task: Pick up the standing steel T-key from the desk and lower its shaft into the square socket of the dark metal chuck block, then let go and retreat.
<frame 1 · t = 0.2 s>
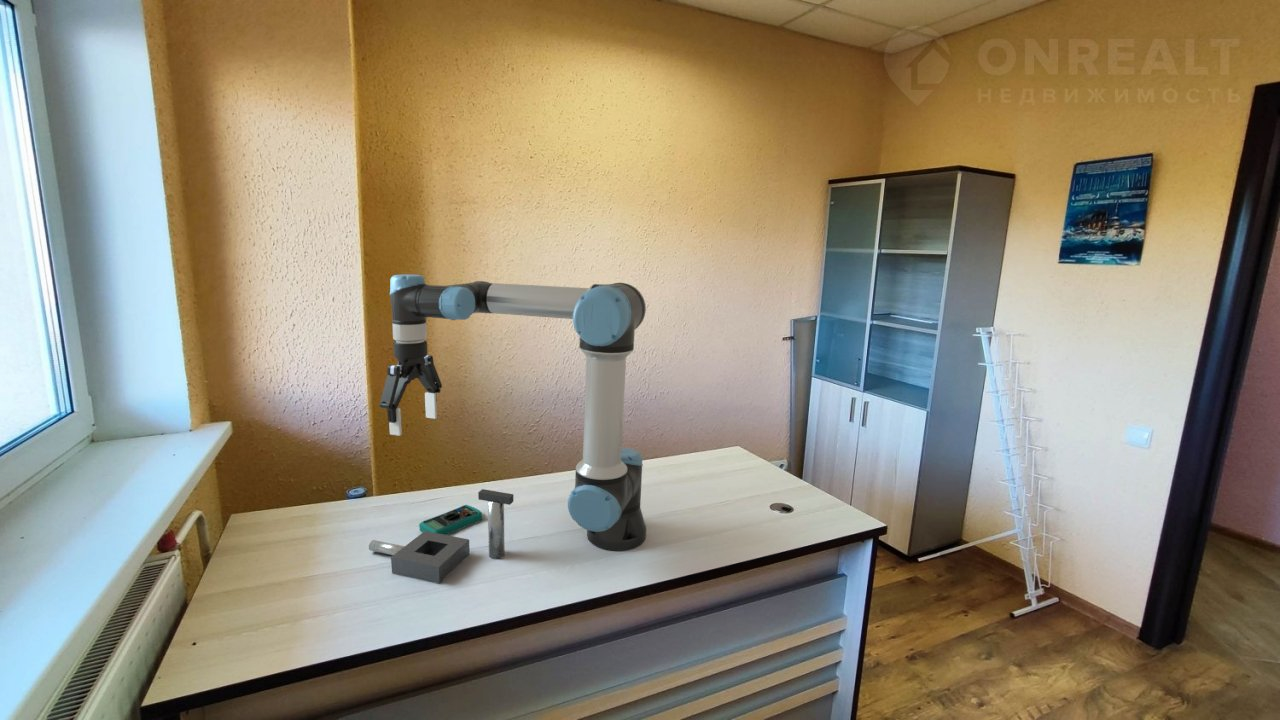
hand: (414, 425, 140), 28 cm above the table, fingers open, 13 cm apart
digital multimeter: (451, 527, 148), on the table
t key: (496, 555, 135), on the table
chuck block: (432, 563, 130), on the table
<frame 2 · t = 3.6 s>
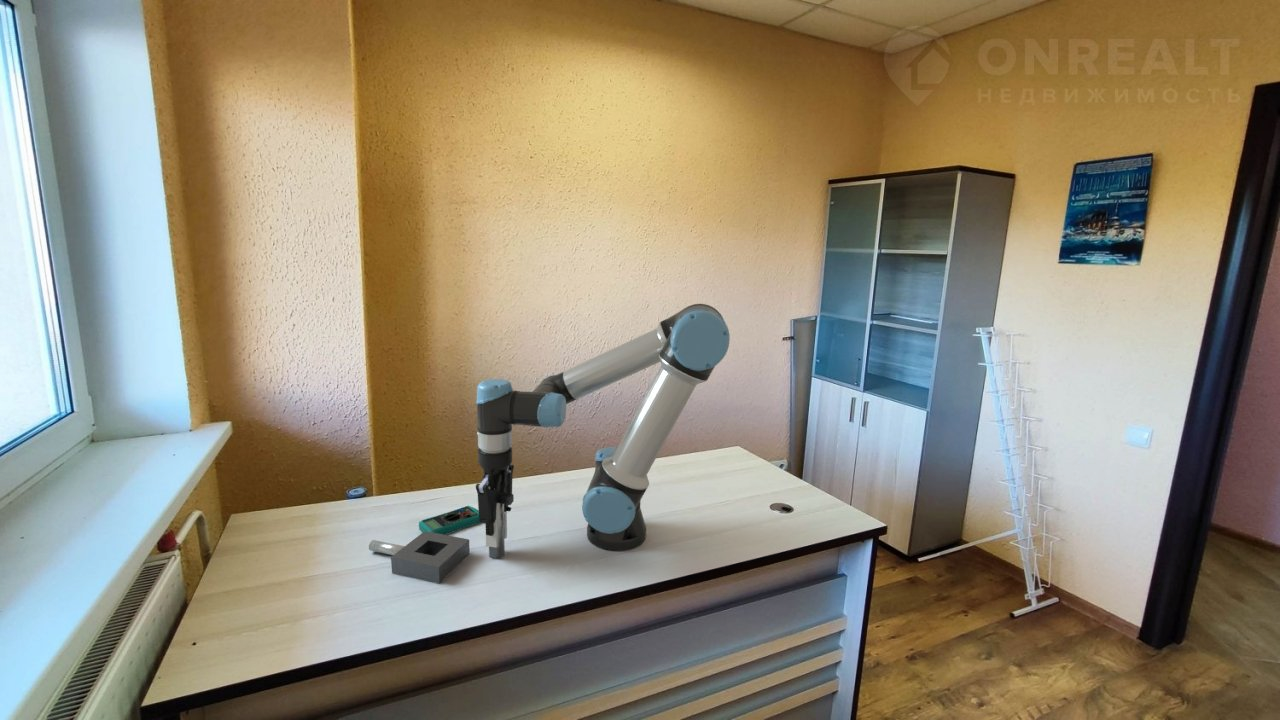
hand: (496, 541, 134), 4 cm above the table, fingers closed on t key, 4 cm apart
t key: (496, 555, 135), on the table, touching gripper
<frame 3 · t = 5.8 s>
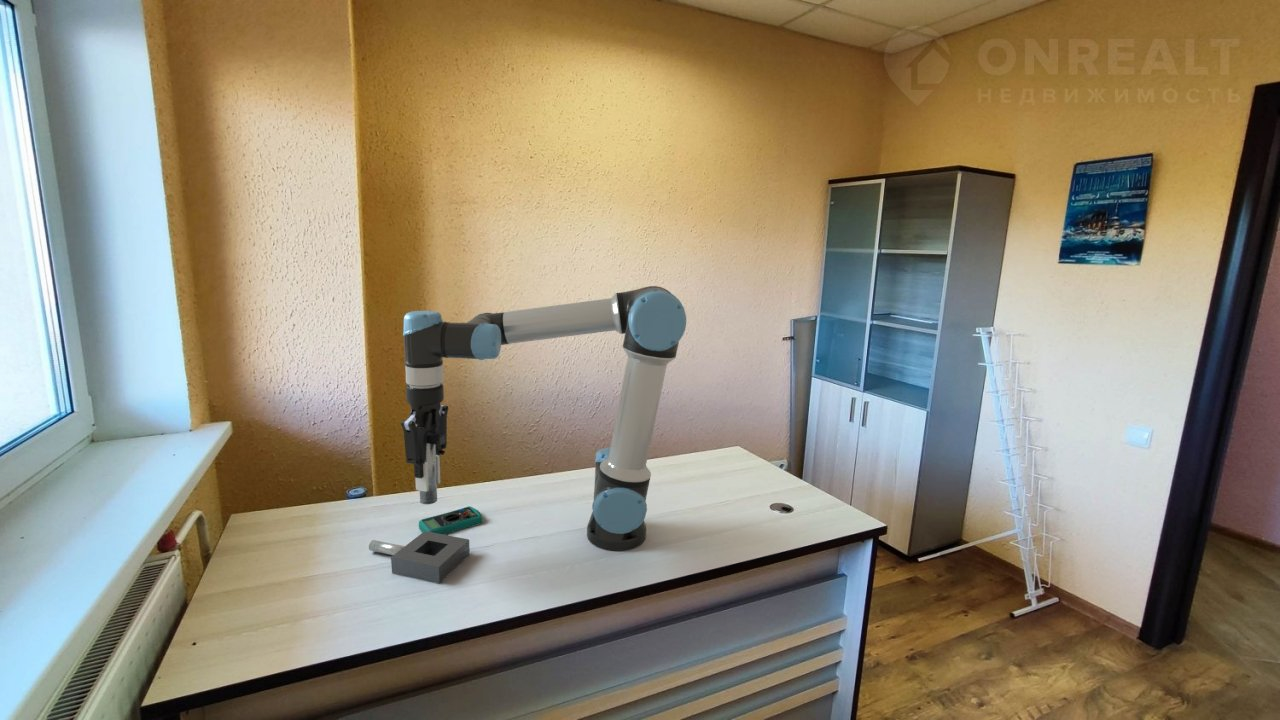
hand: (428, 485, 126), 19 cm above the table, fingers closed on t key, 4 cm apart
t key: (428, 500, 127), point 16 cm above the table, touching gripper
everything else where it was.
when the fingers open (5 cm above the table, at t = 7.9 s): t key drops 2 cm, resting in chuck block.
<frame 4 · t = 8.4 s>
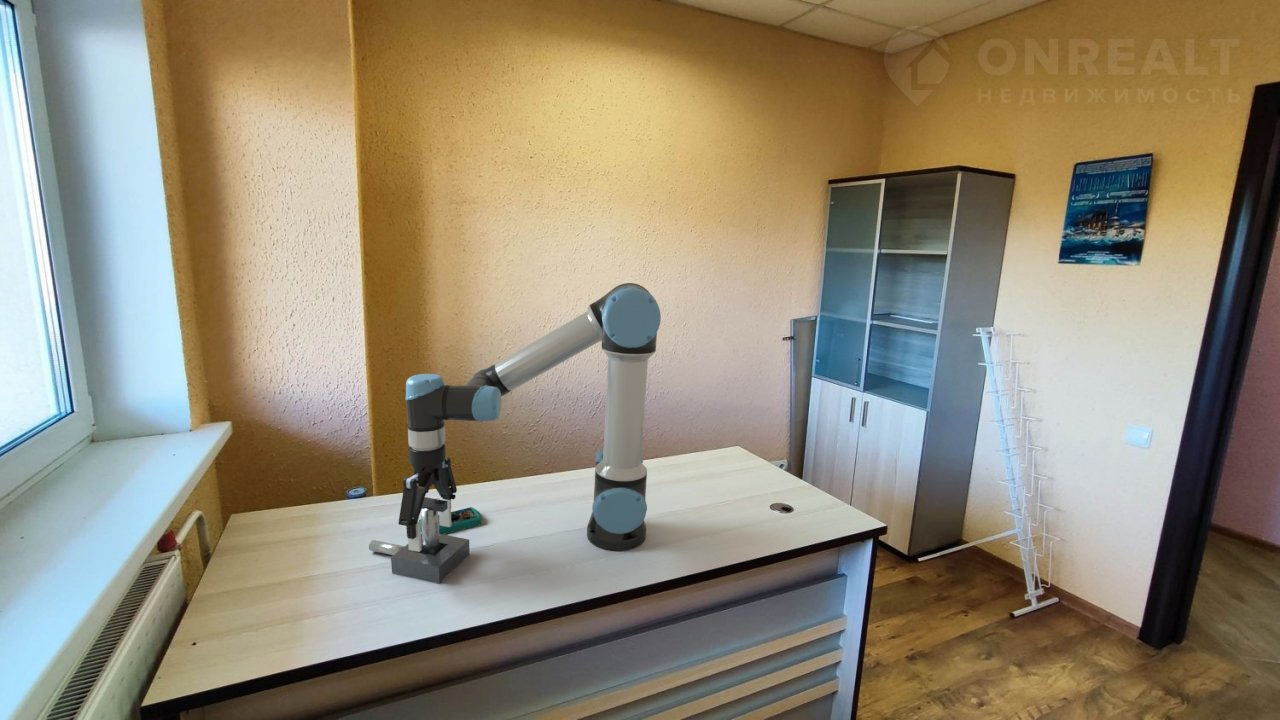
hand: (430, 537, 129), 7 cm above the table, fingers open, 10 cm apart
t key: (432, 563, 131), resting in chuck block
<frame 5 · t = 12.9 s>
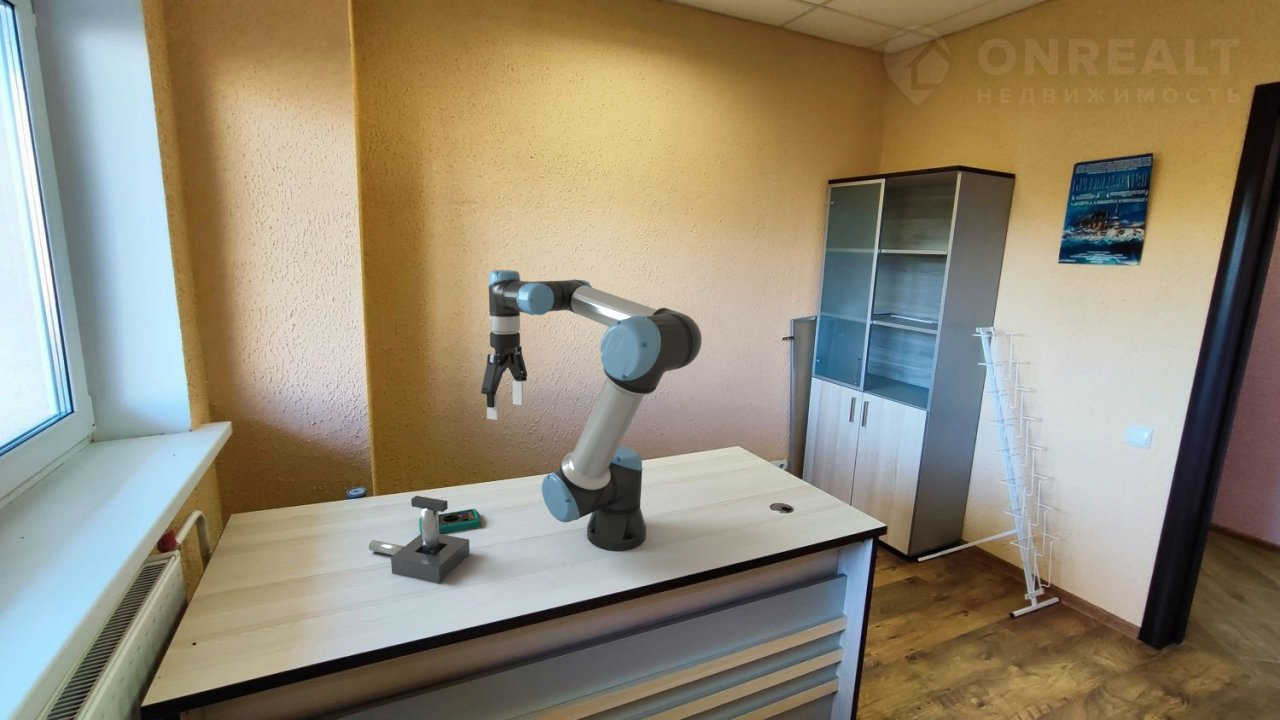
hand: (505, 411, 150), 29 cm above the table, fingers open, 13 cm apart
at the end: t key 0.0 cm off-centre on the chuck block, point 0.0 cm above the chuck block's base; t key tilted 0°; the gripper is holding nothing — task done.
